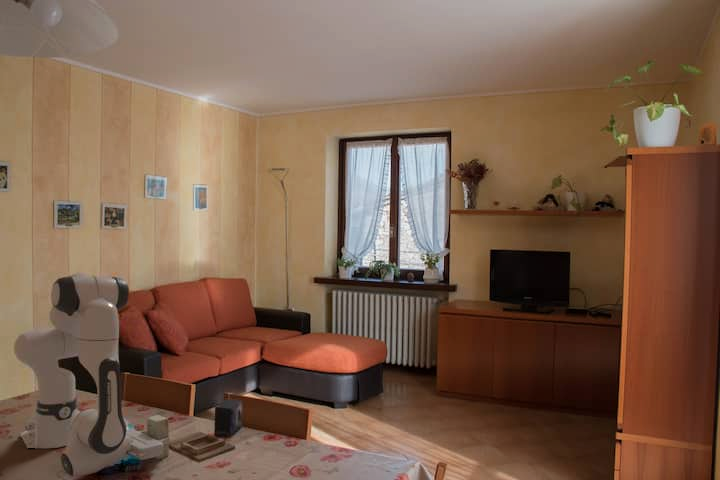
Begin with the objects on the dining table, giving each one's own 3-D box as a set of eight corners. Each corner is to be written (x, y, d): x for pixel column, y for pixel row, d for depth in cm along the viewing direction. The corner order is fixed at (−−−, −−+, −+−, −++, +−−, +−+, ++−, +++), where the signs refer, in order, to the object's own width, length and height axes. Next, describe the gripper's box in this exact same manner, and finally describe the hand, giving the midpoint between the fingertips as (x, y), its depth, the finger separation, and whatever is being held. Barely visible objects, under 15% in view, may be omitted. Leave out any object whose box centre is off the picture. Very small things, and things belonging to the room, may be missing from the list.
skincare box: (169, 456, 186) (169, 418, 186) (157, 460, 183) (157, 421, 182) (158, 450, 190) (158, 413, 190) (146, 454, 187) (146, 417, 186)
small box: (230, 438, 202) (231, 408, 202) (213, 436, 203) (213, 406, 203) (242, 427, 212) (243, 399, 212) (226, 425, 214) (226, 397, 213)
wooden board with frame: (164, 445, 195) (164, 438, 195) (199, 433, 206) (199, 427, 206) (199, 461, 182) (199, 454, 182) (235, 448, 193) (235, 441, 193)
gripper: (137, 447, 169) (178, 434, 180) (103, 430, 182) (143, 419, 193) (137, 468, 170) (178, 454, 180) (103, 450, 183) (143, 437, 193)
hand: (160, 436), depth 187 cm, fingers open, 8 cm apart
